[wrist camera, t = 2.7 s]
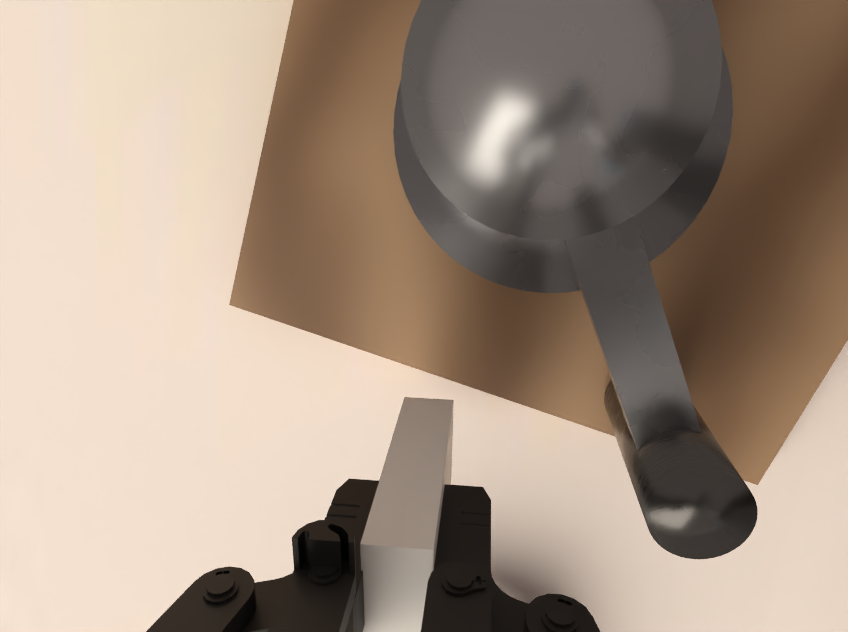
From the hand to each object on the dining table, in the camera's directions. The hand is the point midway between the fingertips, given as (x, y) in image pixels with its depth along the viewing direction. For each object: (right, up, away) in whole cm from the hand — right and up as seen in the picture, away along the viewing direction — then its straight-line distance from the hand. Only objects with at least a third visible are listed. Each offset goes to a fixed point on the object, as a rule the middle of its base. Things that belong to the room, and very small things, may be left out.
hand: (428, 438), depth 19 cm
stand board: (+5, +10, 0) cm, 11 cm away
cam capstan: (+5, +7, -1) cm, 8 cm away
